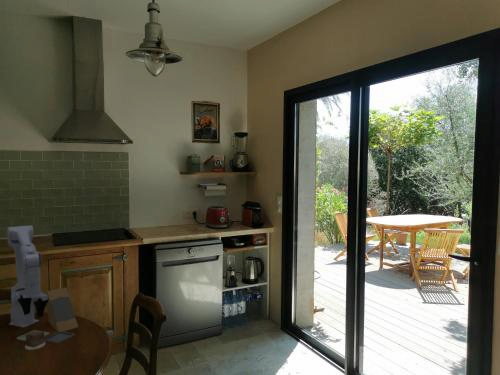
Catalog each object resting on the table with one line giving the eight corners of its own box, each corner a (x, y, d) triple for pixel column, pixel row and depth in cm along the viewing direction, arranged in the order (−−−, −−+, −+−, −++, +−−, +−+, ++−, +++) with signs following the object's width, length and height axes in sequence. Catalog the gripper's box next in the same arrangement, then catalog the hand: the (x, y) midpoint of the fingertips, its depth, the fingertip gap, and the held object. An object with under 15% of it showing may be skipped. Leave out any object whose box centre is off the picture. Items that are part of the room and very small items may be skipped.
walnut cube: (26, 345, 150) (25, 334, 150) (36, 340, 154) (35, 329, 154) (34, 347, 149) (33, 335, 148) (44, 342, 153) (44, 331, 152)
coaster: (20, 348, 150) (20, 346, 150) (37, 341, 156) (36, 338, 156) (33, 352, 147) (33, 349, 147) (49, 344, 153) (49, 341, 153)
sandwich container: (58, 334, 163) (57, 299, 162) (47, 323, 174) (46, 291, 174) (79, 328, 169) (78, 294, 168) (67, 318, 180) (66, 286, 179)
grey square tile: (42, 341, 156) (42, 339, 156) (60, 333, 164) (60, 330, 164) (58, 345, 153) (58, 342, 153) (75, 336, 161) (74, 334, 160)
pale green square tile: (16, 340, 157) (16, 337, 157) (35, 331, 165) (35, 329, 165) (31, 343, 154) (31, 341, 154) (49, 335, 162) (49, 332, 162)
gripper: (10, 283, 157) (12, 316, 158) (36, 287, 152) (37, 321, 153) (26, 279, 164) (27, 310, 165) (51, 282, 158) (52, 315, 159)
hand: (33, 315), depth 159 cm, fingers open, 7 cm apart
